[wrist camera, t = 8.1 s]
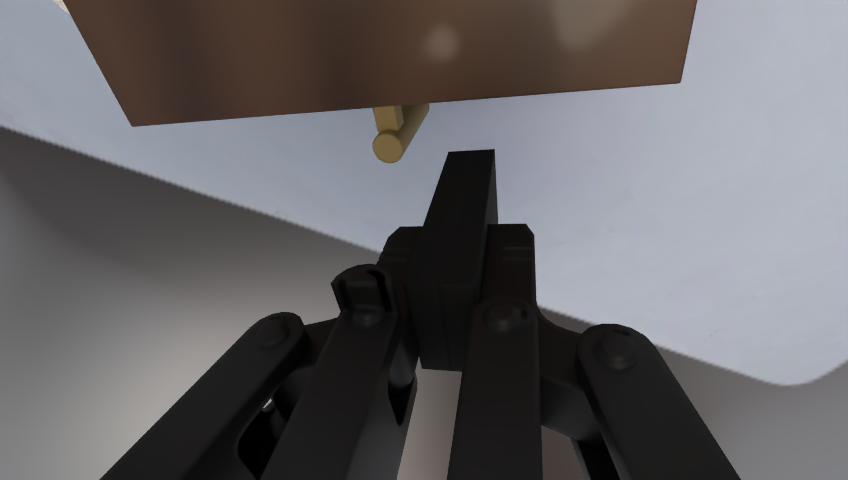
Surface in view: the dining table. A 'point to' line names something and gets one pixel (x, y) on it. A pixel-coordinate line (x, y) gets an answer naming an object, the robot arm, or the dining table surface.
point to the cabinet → (371, 52)
